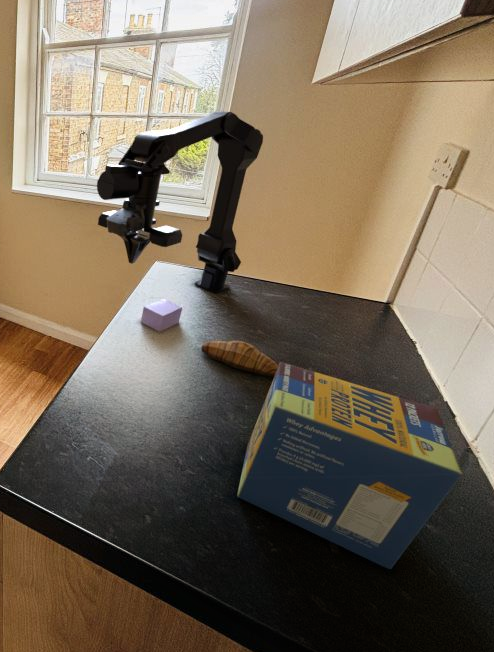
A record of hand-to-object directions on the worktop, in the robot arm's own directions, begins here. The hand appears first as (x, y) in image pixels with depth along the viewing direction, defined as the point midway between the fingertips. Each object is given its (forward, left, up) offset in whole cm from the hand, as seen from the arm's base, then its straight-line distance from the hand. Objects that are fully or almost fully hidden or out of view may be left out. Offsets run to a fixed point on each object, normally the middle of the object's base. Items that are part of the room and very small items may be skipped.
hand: (131, 263), depth 93 cm
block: (0, +10, -11) cm, 15 cm away
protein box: (+22, +48, -11) cm, 54 cm away
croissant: (+1, +28, -11) cm, 30 cm away
